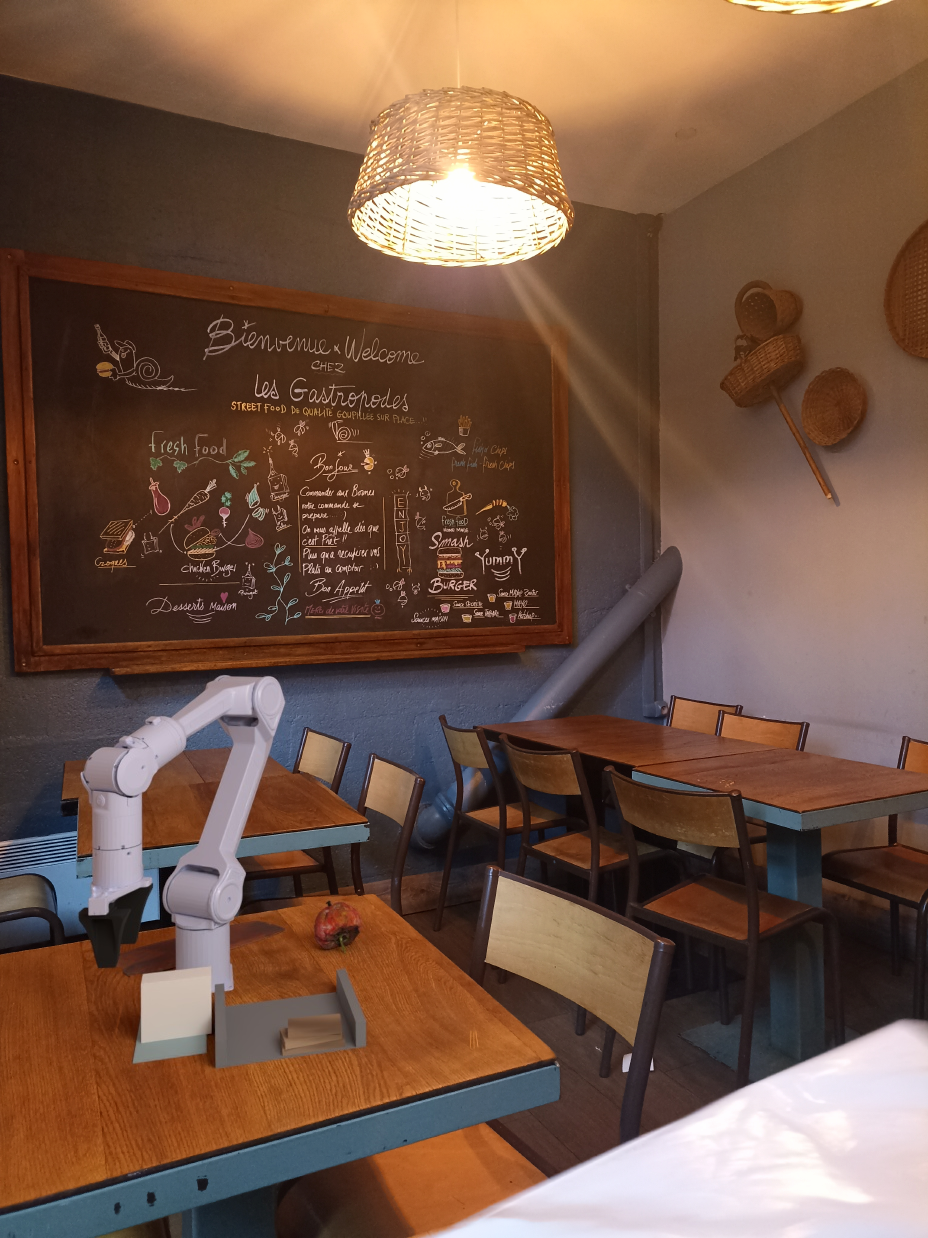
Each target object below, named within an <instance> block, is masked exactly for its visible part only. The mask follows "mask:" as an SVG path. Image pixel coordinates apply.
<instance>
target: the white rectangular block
mask: <svg viewBox="0 0 928 1238" xmlns="http://www.w3.org/2000/svg"><path fill="white" fill-rule="evenodd" d="M140 1018H141V1043H145V1042H153V1041H160V1040H167V1039H175V1038H182V1037H189V1036H197V1035H204V1034H207V1035H209V1034H210V1035H211V1034H212V1032H213V1031H212V1024H213V1023H212V993H211V966H209V967H200V968H191V969H183V970H176V969H175V970H165V971H161V972H157V973H148V974H142V977H141V982H140Z"/></svg>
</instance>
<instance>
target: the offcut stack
mask: <svg viewBox="0 0 928 1238" xmlns="http://www.w3.org/2000/svg"><path fill="white" fill-rule="evenodd" d="M280 1044H281V1050H282V1056H288V1055H294V1054H301V1053H308V1052H315V1051H322V1050H329V1049H335V1048H342V1047H345V1038H344V1035H343V1032H342V1024H341V1017H340V1014H332V1015H321V1016H311V1017H300V1018H290V1019H288V1028H284V1029H280Z"/></svg>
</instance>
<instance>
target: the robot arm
mask: <svg viewBox="0 0 928 1238" xmlns="http://www.w3.org/2000/svg"><path fill="white" fill-rule="evenodd" d="M285 706H286V700H285V696H284V693H283V690H282V686H281V684H280V682H279V681H278V680H277V679H276V678H275V677H273V676H271V675H270V676H269V675H268V676H266V675H264V676H263V677H262V676H231V675H225V674H223V675H219V676H218V677H217V676H216V678H215V679H214V680H212V681H209V682H207V683H206V686H205V689H204V690H203V692H202V693H200V694H199V695H198V696H196V697H195V698H194V699H193V700H191V701H190V702H189V703H187V704H186V705H185V706H184V707H182V708H181V709H180V710H178V712H176V713H175V714H174V715H172V716H171V717H170V716H165V715H159V716H156V715H155V716H154V715H152V716H151V715H150V716H149V717H148V718H146V719H145V720H144V723H145V725H144V724H143V726H141V727H140V728H138V729H137V730H136V731H134V732H132V733H131V734H130V735H123V736H122V737H121V738H119V740H118V742H117V743H116V744H115V745H113V747H110V746H108V747H107V746H105V747H104V746H102V747H101V748H98V749H97V750H95V751H94V752H93V753H92V754H90V756H89V757H88V758H87V760H86V762H85V765H84V769H83V771H81V772H80V779H81V783H82V785H83V787H84V788H85V789H86V791H87V792H88V803H89V804H90V806H91V807H92V808H91V810H92V814H91V815H92V817H91V819H92V821H91V822H92V823H91V824H92V841H91V842H92V844H91V846H92V881H91V882H90V897H89V898H88V900H87V901H88V904H87V905H88V907H86V906H85V907H83V908H81V910H79V911H78V914H77V915H78V917H77V918H78V921H79V923H80V924H81V925H82V928H84V930H85V933H86V934H87V936H88V938H89V941H90V945H91V948H92V952H93V956H94V959H95V963H96V965H97V968H98V969H115V968H116V967H117V963H118V960H119V955H120V953H121V948H122V947H121V946H122V945H135V944H136V943H137V941H138V938H139V934H140V930H141V924H142V918H143V914H144V910H145V909H146V905H147V902H148V899H149V897H150V895H151V893H152V891H153V889H154V883H153V877H151V876H147V877H146V876H145V875H144V864H143V798H142V797H143V793H144V792H146V791H147V790H148V788H149V786H150V785H151V783H152V780H153V777H154V775H155V774H156V773H158V770H160V769H161V768H163V767H164V766H165V765H166V764H168V763H169V762H171V761H172V760H173V759H174V758H176V757H177V756H179V755H180V754H181V753H182V752H183V751H184V750H185V748H186V745H187V739H188V738H189V737H191V736H193V735H194V734H195V733H197V732H199V731H200V730H202V729H203V728H205V727H206V726H208V725H210V724H212V723H213V722H215V721H217V722H218V723H219V725H220V726H221V728H222V729H223V730H224V732H225V734H226V735H228V736H229V737H230V738H231V740H232V742H233V743H232V744H233V745H232V748H231V751H230V754H229V757H228V760H227V763H226V764H225V767H224V771H223V773H222V776H221V780H220V783H219V784H218V785H219V786H218V788H217V791H216V793H215V796H214V799H213V802H212V804H211V806H210V810H209V814H208V816H207V819H206V822H205V824H204V827H203V831H202V832H201V836H200V839H199V841H198V844H197V846H195V847H194V848H193V849H191V850H190V851H188V852H186V853H185V854H183V855H182V856H181V857H180V858H179V859H178V863H177V865H176V867H175V869H174V871H173V872H172V874H170V876H169V877H168V879H167V880H166V882H165V885H164V887H163V891H162V903H163V904H162V905H163V907H164V909H165V911H166V912H167V913H169V914H170V915H171V922H172V923H175V938H176V967H175V970H183V969H191V968H200V967H209V966H211V994H213V993H214V994H215V984H223V983H224V989H225V992H229V991H232V990H234V988H235V987H234V977H233V975H234V974H233V964H232V963H231V956H230V955H231V950H230V925H231V924H230V923H231V922H232V921H233V920H234V919H235V916H236V915H237V913H238V911H239V910H240V907H241V905H242V901H243V886H244V882H245V878H246V874H247V873H246V870H245V869H244V867H243V866H242V865H241V863H240V862H239V860H238V859H237V857H236V854H237V851H238V848H239V845H240V842H241V838H242V836H243V833H244V830H245V828H246V824H247V821H248V818H249V815H250V812H251V809H252V806H253V802H254V800H255V797H256V793H257V791H258V788H259V786H260V785H259V784H260V781H261V779H262V776H263V772H264V769H265V767H266V764H267V761H268V757H269V756H270V752H271V748H272V745H273V741H274V737H275V735H276V732H277V729H278V726H279V723H280V719H281V717H282V713H283V711H284V707H285Z"/></svg>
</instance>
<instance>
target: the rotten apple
mask: <svg viewBox="0 0 928 1238" xmlns="http://www.w3.org/2000/svg"><path fill="white" fill-rule="evenodd" d="M325 904H326V905H327V906H325V907H324V908H322V909H321V910H320V911H319V912H318V913H317V915H316V917H315V920H314V927H313V929H314V939H315V941H316V943H317V944H318V945H320V946H321V947H322V948H323V949H324V950H332V949H335V948H338V946H339V947H341V948H342V951H343V953H344V954H346V951H345V950H346V949H345V948H346V946H348V945H350V944H352V943H354V942H355V940H356V938H357V937H358V936H359V934H360V933H361V932H362V930H363V929H362V928H363V920H362V915H361V914H360V913H359V912H358V910H356V909H357V908H355V907H353V906H350V905H349V904H348V903H346V902H343V901H338V902H334V903H332V902H331V900H327V902H325Z"/></svg>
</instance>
